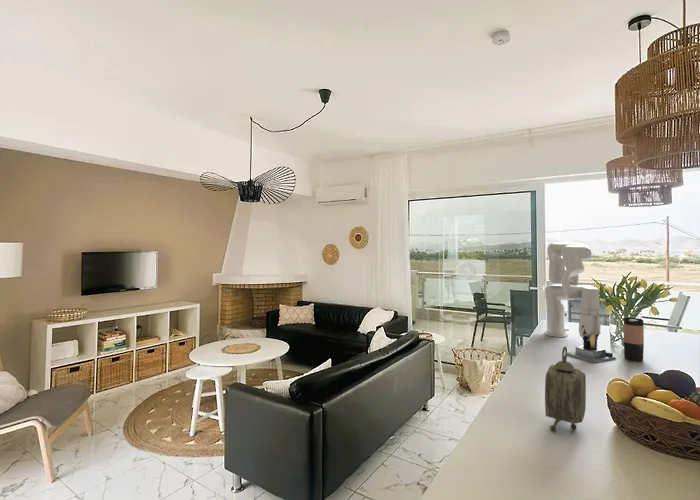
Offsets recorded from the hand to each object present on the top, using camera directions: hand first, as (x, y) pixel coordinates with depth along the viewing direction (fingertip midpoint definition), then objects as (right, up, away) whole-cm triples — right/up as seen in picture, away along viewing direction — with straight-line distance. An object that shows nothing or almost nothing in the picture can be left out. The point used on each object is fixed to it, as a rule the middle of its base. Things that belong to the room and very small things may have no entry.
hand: (590, 347), depth 176 cm
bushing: (0, -2, 0) cm, 2 cm away
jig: (0, -5, 0) cm, 5 cm away
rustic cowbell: (-54, -6, -68) cm, 87 cm away
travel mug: (+18, -5, -5) cm, 19 cm away
